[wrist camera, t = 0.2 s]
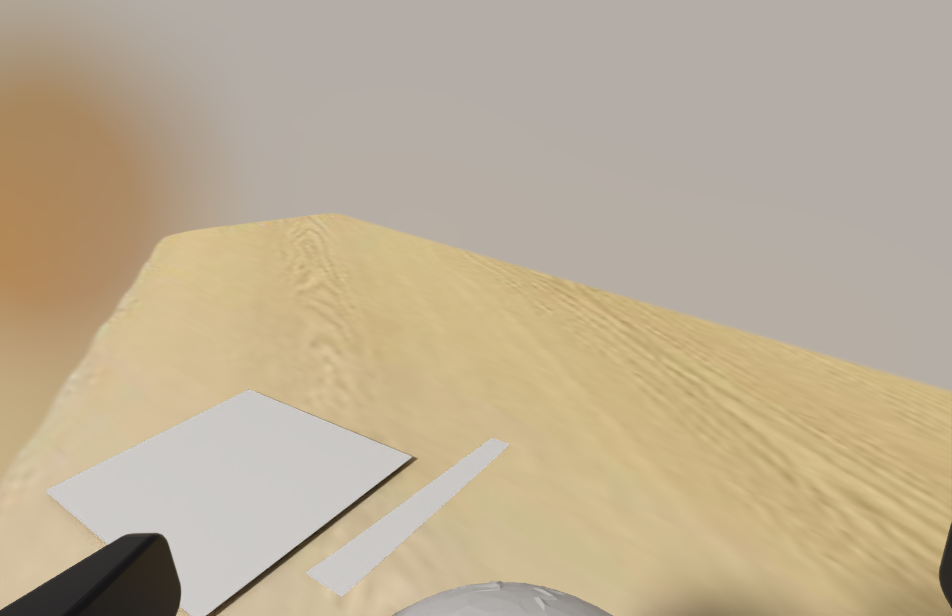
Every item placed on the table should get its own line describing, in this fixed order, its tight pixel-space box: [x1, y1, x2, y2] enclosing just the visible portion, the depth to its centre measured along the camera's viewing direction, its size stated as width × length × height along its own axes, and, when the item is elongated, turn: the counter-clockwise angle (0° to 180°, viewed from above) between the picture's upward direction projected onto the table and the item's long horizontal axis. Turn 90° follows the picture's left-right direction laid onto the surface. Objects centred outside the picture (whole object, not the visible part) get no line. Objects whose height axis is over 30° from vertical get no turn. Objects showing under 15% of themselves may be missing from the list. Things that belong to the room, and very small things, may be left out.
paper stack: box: [45, 389, 510, 616], centre depth 37 cm, size 23×25×1 cm
